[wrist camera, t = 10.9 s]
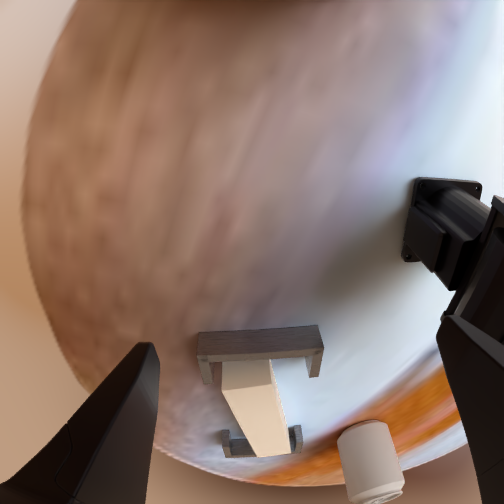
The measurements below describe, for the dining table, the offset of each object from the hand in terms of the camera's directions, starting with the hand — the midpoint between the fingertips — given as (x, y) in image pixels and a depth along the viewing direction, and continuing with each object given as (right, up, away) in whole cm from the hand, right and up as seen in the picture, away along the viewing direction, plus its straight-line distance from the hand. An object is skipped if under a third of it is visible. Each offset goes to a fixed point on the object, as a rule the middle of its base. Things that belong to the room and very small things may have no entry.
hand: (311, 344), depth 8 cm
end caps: (-1, -13, +21) cm, 25 cm away
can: (+14, -22, +28) cm, 38 cm away
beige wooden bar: (-1, -13, +22) cm, 25 cm away
